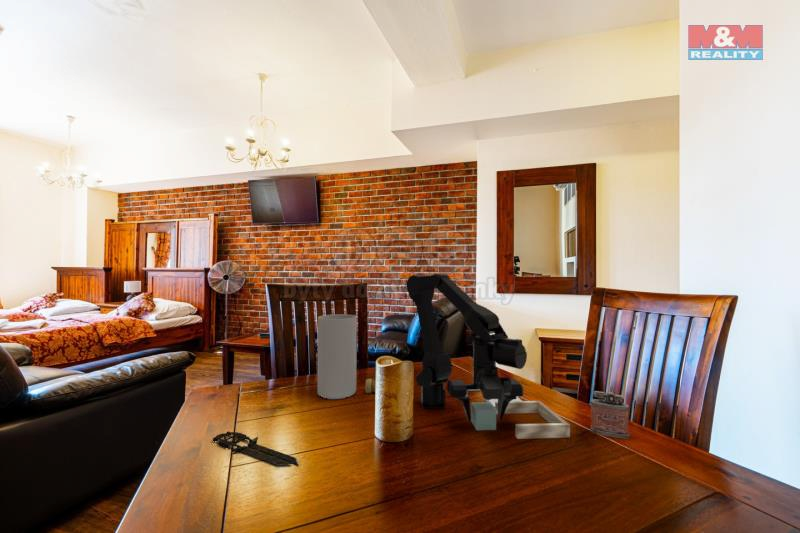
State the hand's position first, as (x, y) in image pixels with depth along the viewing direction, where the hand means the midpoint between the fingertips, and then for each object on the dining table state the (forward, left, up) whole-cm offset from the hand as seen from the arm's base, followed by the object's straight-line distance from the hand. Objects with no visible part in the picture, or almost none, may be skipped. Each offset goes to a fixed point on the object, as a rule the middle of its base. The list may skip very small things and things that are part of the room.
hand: (484, 421), depth 86 cm
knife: (-54, -9, -2) cm, 55 cm away
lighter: (+30, -6, -1) cm, 30 cm away
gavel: (-26, +33, -2) cm, 42 cm away
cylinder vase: (-41, +25, -1) cm, 48 cm away
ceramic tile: (+11, +12, -1) cm, 16 cm away
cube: (0, 0, -1) cm, 1 cm away
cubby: (+12, 0, -1) cm, 12 cm away
